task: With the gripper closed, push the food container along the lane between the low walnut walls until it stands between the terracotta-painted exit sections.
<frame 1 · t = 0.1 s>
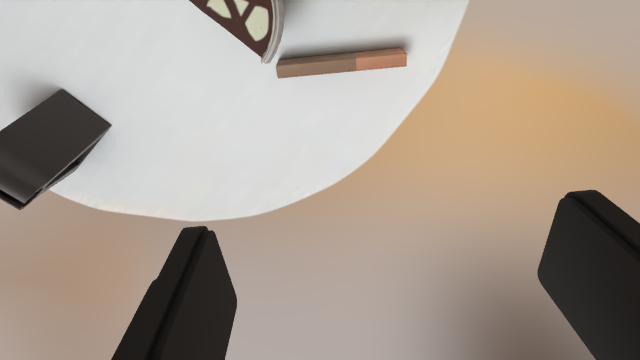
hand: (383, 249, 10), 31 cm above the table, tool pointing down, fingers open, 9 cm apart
phone stand: (70, 131, 41), on the table
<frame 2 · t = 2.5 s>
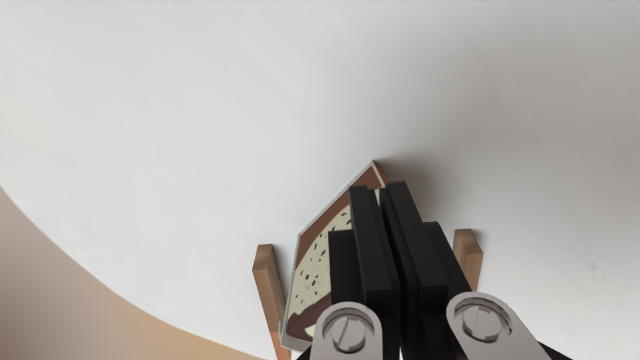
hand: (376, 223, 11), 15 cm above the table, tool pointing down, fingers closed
lane walls: (364, 288, 33), on the table
food container: (360, 217, 29), on the table
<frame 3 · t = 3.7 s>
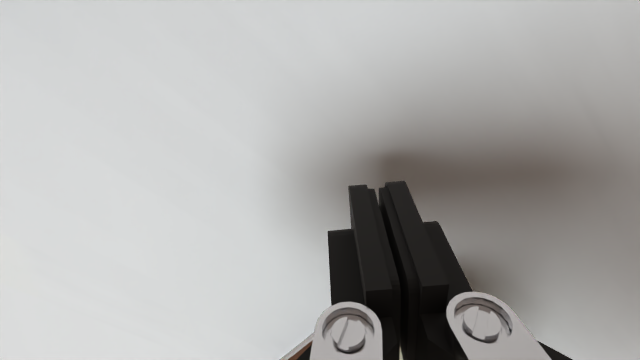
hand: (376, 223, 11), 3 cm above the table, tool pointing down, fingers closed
food container: (371, 339, 19), on the table
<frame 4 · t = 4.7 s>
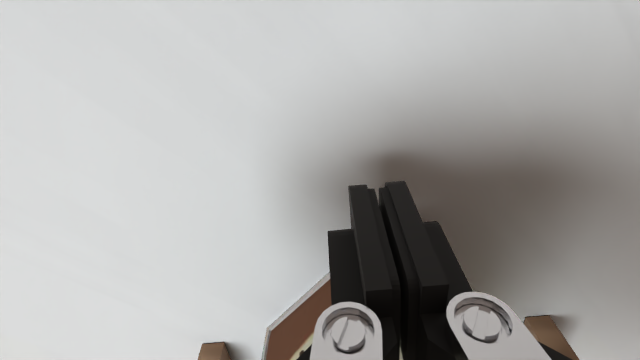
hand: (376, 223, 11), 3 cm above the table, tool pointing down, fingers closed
food container: (369, 301, 17), on the table, touching gripper
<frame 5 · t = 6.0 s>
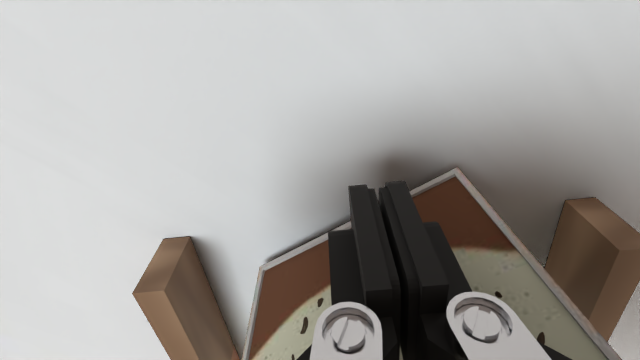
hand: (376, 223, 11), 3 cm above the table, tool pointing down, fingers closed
lane walls: (376, 316, 18), on the table
food container: (382, 256, 16), on the table
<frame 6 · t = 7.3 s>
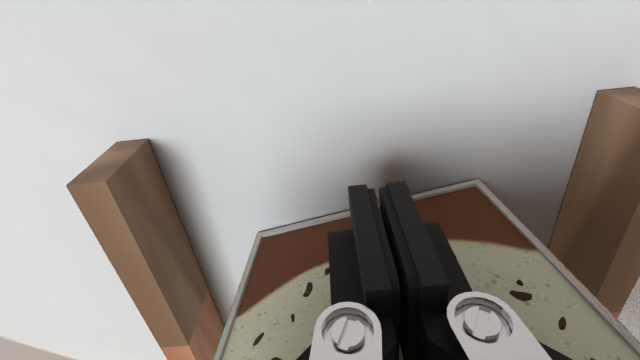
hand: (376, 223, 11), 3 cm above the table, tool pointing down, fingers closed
lane walls: (371, 250, 16), on the table
food container: (377, 255, 16), on the table, touching gripper
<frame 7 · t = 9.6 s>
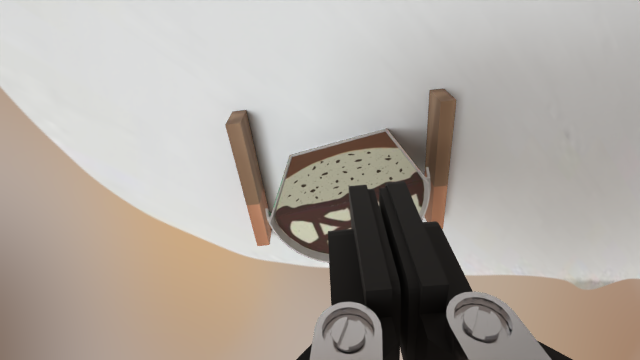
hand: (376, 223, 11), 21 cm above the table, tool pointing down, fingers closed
lane walls: (342, 165, 33), on the table
food container: (345, 168, 34), on the table
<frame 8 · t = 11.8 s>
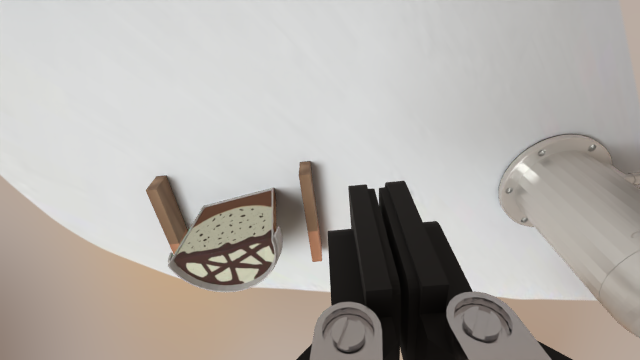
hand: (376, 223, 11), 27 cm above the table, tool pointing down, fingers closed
lane walls: (244, 213, 44), on the table
food container: (247, 215, 44), on the table
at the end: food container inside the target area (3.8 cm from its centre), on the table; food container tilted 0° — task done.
